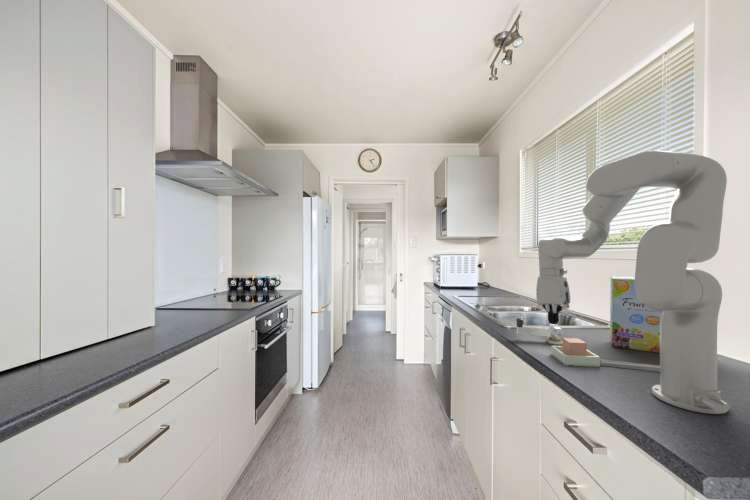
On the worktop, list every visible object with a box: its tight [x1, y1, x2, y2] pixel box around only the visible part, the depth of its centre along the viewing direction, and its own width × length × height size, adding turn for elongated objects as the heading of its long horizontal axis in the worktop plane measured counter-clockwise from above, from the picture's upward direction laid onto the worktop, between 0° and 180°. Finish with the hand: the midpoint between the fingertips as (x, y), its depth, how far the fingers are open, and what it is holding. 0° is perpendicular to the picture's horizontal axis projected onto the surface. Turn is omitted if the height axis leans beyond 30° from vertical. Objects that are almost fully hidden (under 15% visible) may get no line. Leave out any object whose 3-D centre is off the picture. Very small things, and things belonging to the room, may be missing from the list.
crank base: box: [545, 337, 562, 346], centre depth 117 cm, size 6×6×1 cm
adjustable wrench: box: [600, 358, 660, 373], centre depth 92 cm, size 25×6×2 cm, turn 63°
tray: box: [550, 345, 601, 368], centre depth 98 cm, size 10×10×3 cm
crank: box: [516, 317, 563, 341], centre depth 119 cm, size 16×4×7 cm, turn 74°
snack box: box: [609, 275, 662, 354], centre depth 109 cm, size 22×9×26 cm, turn 57°
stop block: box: [561, 337, 588, 356], centre depth 98 cm, size 5×5×6 cm
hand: (553, 323), depth 109 cm, fingers closed
